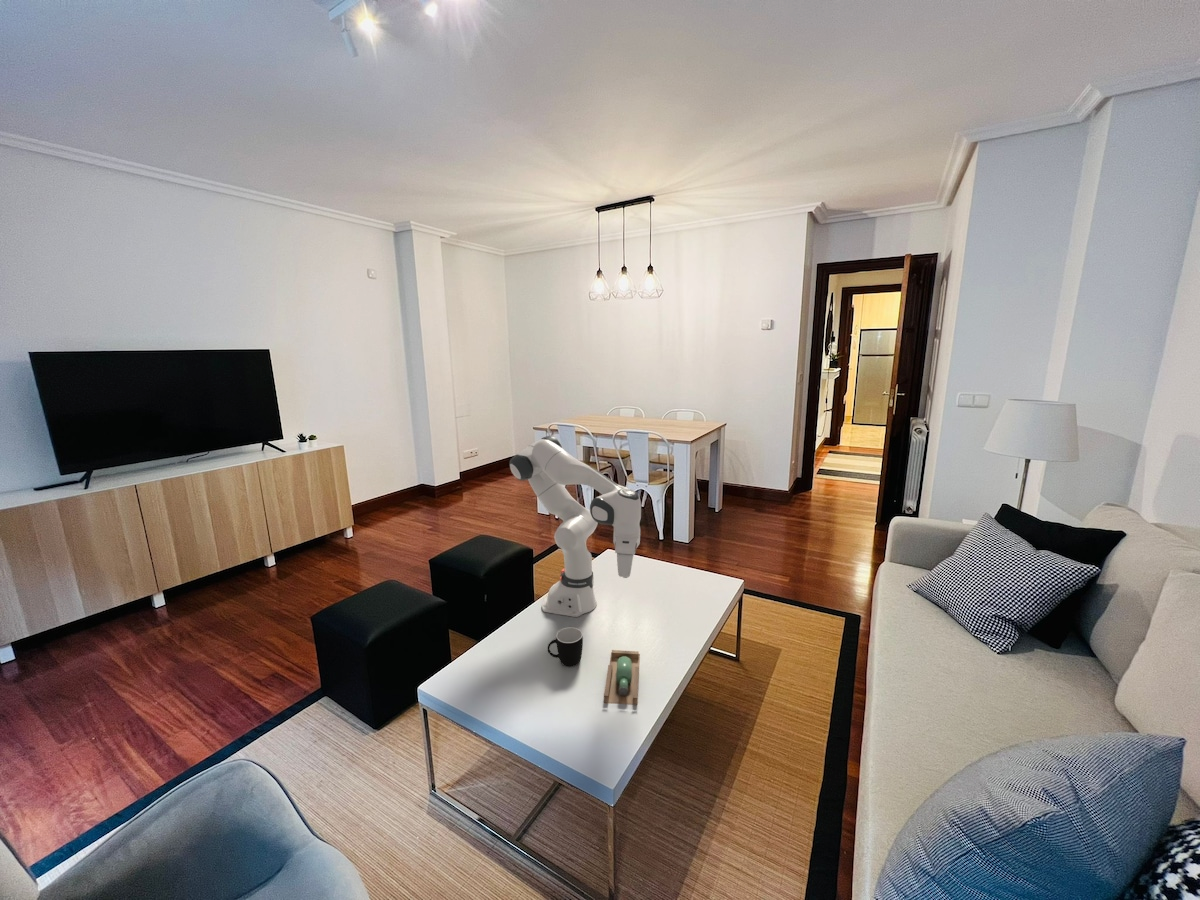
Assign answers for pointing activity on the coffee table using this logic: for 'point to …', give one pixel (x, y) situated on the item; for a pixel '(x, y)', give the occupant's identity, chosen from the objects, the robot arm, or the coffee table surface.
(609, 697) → the rest
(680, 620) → the coffee table surface
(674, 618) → the coffee table surface
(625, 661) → the bottle
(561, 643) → the mug
